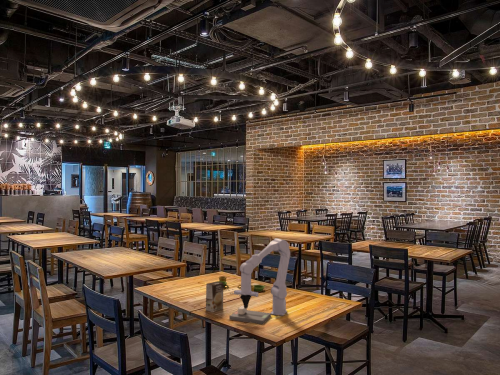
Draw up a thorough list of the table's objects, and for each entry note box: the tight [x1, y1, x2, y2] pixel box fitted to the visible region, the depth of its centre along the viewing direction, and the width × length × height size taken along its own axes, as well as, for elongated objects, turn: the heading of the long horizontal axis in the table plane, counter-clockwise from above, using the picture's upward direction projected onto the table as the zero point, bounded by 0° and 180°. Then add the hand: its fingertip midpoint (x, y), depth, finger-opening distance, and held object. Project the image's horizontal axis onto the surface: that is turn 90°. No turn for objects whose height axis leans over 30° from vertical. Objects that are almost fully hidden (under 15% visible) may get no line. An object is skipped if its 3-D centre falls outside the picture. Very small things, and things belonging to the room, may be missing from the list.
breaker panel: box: [229, 309, 272, 325], centre depth 223 cm, size 20×14×2 cm
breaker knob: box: [237, 305, 248, 315], centre depth 225 cm, size 3×6×3 cm, turn 158°
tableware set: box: [216, 275, 266, 297], centre depth 291 cm, size 41×28×6 cm
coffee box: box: [205, 281, 224, 313], centre depth 238 cm, size 9×6×16 cm
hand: (245, 307), depth 224 cm, fingers closed
